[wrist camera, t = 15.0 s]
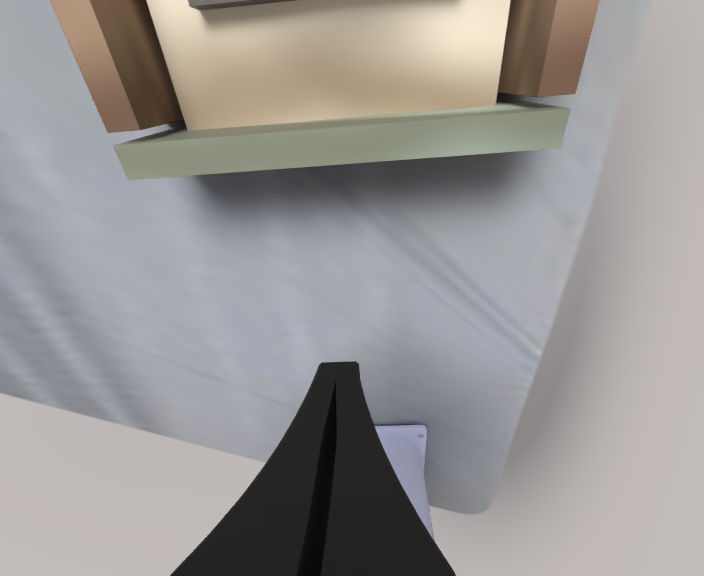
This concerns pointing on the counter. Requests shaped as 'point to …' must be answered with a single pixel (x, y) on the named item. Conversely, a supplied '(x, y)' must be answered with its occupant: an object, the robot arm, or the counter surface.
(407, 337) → the counter surface
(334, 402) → the robot arm
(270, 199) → the counter surface
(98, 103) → the dock
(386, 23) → the tray
